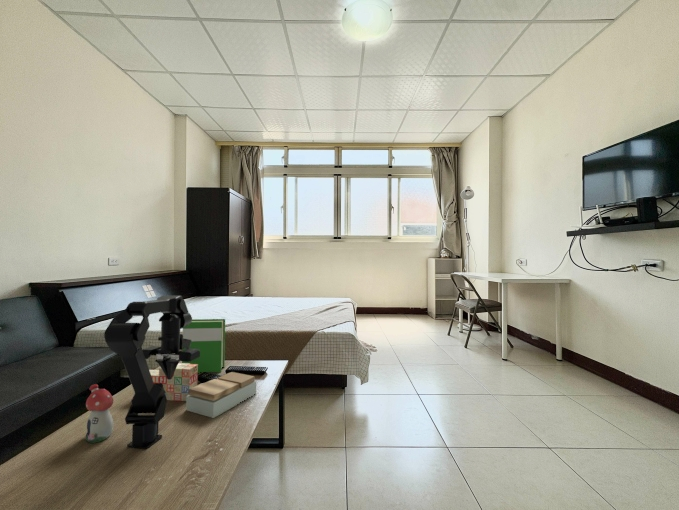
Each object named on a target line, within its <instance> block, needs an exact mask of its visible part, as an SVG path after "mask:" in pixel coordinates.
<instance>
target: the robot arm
mask: <svg viewBox="0 0 679 510" xmlns="http://www.w3.org/2000/svg"><path fill="white" fill-rule="evenodd" d="M159 313H161V314H162V315H161V316H160V318H159V319H158V322H159V323H160V322H161V323H160V324H161V326H160V327H161V329H160V331H161V333H160V336H159V337H157V338H158V339H157V340H158V341H159V342H160V346H155V345H152V346H149V347H146V348H143V345H144V342H145V340H146V339H147V338H146V334H147V332H148V331H149V328H150V322H149V321H150V320H149V316H150V315H153V314H159ZM133 317H142V319H141V322H129V321H130V320H131V319H132V318H133ZM192 319H193V317H192V315H191V313H190V312H189V309H188V306H187V304H186V301H185V299H184V298H183V296H182V295H160V296H159V297H157V299H154V300H153V299H151V300H144V301H143V300H142V301H132V302H129V303H128V305H127V306H126V308H125V309H124V310H123V311H121V312H120V313H118V314H117V315H116V316H114V317H113V318H112V320H111V321H110V323H108V326H107V327H106V329H105V330H104V334H103V336H104V337H103V338H104V341H105V343H106V344H107V345H106V346H108V348H109V350H110V351H112V352H113V353H115V354H117V355H118V356H120V358H121V361H122V363H123V365H124V368H125V371H126V373H127V377H128V378H129V381H130V384H131V387H132V389H133V393H134V394H133V397H132V399H131V401H130V402H131V404H130V407H129V409H128V411H127V414H126V416H125V418H124V421H125V425H132V429H131V430H132V431H131V432H132V433H131V435H132V436H131V441H130V442H128V443H127V444H126V445H127V446H126V447H127V448H136V449H145V450H146V449H148V448H150V447H151V446H153V445H154V444H155V443H156V442H157V441H159V440H161V439H162V438H163V435H162V434H159V422H160V421H161V420H162V419H163V418H164V416H165V414H166V413H165V411H166V407H167V401H168V400H167V398H166V396H165V393H166V391H165V390H164V387H163V384H162V383H153V380H152V377H151V374H150V371H149V370H150V368H149V365H148V363H147V359H149V358H150V357H151V356H156V359H155V360H154V362H155V363H157V364H158V366H159V368H160V367H161V368H162V370H163V372H164V373H165V375H166V377H167V379H168V380H170V379H172V377H173V375H174V372H175V370H176V367H177V365H178V363H181V362H182V361H185V362H189V361H192V360H194V359H196V358H198V357H200V351H199V350H198V349H192V348H190V344H191V340H189V339H184V338H183V333H181V329H182V330H183V328H184V327H186V326H188V325H189V324H190V323H191V321H192ZM184 348H187V349H186V350H184V351H182V350H183V349H184Z"/></svg>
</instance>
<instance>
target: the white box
mask: <svg viewBox="0 0 679 510" xmlns="http://www.w3.org/2000/svg"><path fill="white" fill-rule="evenodd" d="M255 377H256V376H254V375H249V374H245V373H239V372H235V371H231V372H228V373H226V374H223V375H221V376H219V377H217V379H218V380H223V381H228V382H232V383H237V384H239V389H238V390H236V391H234V392H232V393H230V394H228V395H226V396H223V397H221V398H219V399H217V400H215V401H212V400H208V399H204V398H200V397H196V396H192V395H188V396H186V401H185V402H186V403H185V406H186V407H185V408H186V409H185V411H188V412H191V413H194V414H199V415H201V416H205V417H208V418H212V419H214V418H216V417H218V416H220V415H221V414H224V413H225V412H227V411H228V410H230V409H232V408H233V407H236V406H238V405H240V404H241V403H243V402H244V400H245V401H247V400H248V399H250V398H251V396H252V397H253V396H255V395H257V381H256V380H255ZM254 394H255V395H254ZM249 397H250V398H249ZM247 398H248V399H247ZM242 401H243V402H242ZM240 402H241V403H240ZM237 404H238V405H237Z"/></svg>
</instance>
